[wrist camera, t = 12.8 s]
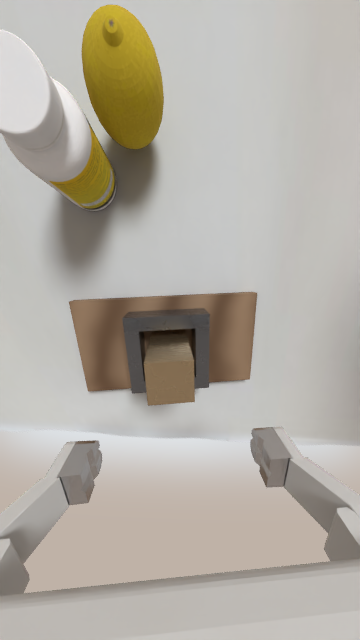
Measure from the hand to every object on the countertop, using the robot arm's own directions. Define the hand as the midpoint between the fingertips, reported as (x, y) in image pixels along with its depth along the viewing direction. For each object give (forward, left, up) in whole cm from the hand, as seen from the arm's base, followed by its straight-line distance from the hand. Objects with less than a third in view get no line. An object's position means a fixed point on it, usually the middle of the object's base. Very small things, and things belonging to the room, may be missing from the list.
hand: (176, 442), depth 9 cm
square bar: (0, 0, -13) cm, 13 cm away
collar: (0, 0, -13) cm, 13 cm away
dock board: (0, 0, -15) cm, 15 cm away
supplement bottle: (+7, -18, -15) cm, 24 cm away
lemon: (+2, -22, -15) cm, 26 cm away
